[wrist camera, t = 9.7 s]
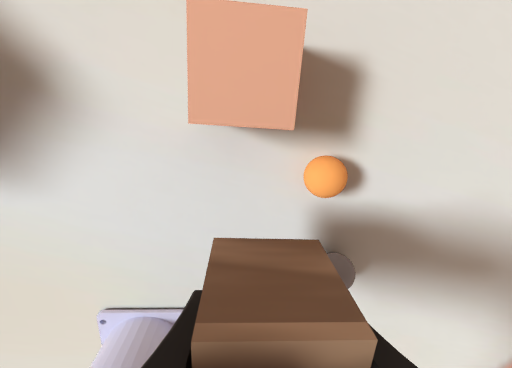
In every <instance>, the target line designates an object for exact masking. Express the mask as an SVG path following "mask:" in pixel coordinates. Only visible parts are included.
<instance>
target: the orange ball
mask: <svg viewBox="0 0 512 368" xmlns="http://www.w3.org/2000/svg"><path fill="white" fill-rule="evenodd" d="M347 178H348V175H347V170H346V168H345V166H344V164H343V163H342V162H341V161H340V160H338V159H337V158H335V157H332V156H320V157H317V158H315V159H313V160H312V161H311V162H310V163H309V164H308V165H307V167H306V169H305V171H304V183H305V185H306V187H307V189H308V190H309V191H310V192H311V193H312V194H314V195H315V196H318V197H321V198H329V197H333V196H336V195H337V194H339V193H340V192H341V191H342V190H343V189H344V187H345V186H346V183H347Z"/></svg>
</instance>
